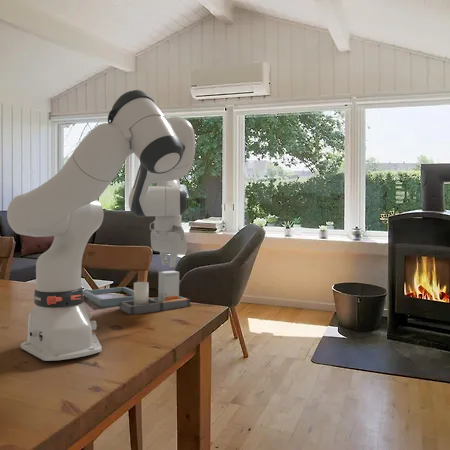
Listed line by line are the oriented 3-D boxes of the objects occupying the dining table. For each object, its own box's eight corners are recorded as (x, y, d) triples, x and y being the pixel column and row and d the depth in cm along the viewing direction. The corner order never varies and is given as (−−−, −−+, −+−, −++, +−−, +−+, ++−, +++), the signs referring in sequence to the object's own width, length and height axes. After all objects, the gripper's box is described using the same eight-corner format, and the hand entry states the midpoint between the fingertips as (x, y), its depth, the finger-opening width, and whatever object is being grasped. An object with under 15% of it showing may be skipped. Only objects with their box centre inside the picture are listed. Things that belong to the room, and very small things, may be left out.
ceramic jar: (151, 310, 150) (150, 283, 150) (137, 312, 148) (137, 284, 147) (144, 307, 154) (144, 281, 154) (131, 309, 152) (131, 282, 151)
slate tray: (145, 303, 161) (145, 294, 161) (101, 308, 153) (101, 299, 152) (124, 294, 178) (124, 286, 178) (83, 298, 169) (83, 290, 169)
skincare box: (163, 308, 153) (163, 273, 152) (157, 306, 156) (158, 271, 156) (179, 306, 156) (179, 271, 156) (173, 304, 160) (173, 270, 159)
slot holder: (190, 306, 156) (190, 298, 156) (130, 314, 144) (130, 305, 144) (177, 302, 164) (177, 294, 164) (119, 309, 152) (119, 300, 152)
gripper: (191, 226, 149) (191, 268, 149) (163, 224, 166) (163, 262, 166) (174, 226, 145) (174, 269, 146) (147, 224, 162) (147, 263, 163)
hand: (168, 265), depth 156 cm, fingers open, 4 cm apart
